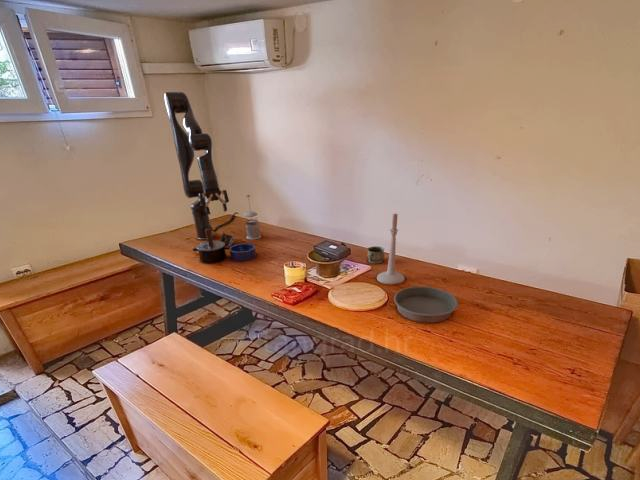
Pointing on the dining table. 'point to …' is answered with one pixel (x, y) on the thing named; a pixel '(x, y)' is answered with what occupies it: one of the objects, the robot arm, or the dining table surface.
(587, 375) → the dining table surface
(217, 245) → the lid
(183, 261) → the dining table surface
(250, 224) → the french press
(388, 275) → the candlestick
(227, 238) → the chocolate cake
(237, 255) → the blue round bowl
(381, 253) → the vessel
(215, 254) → the pot
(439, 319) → the cake pan
